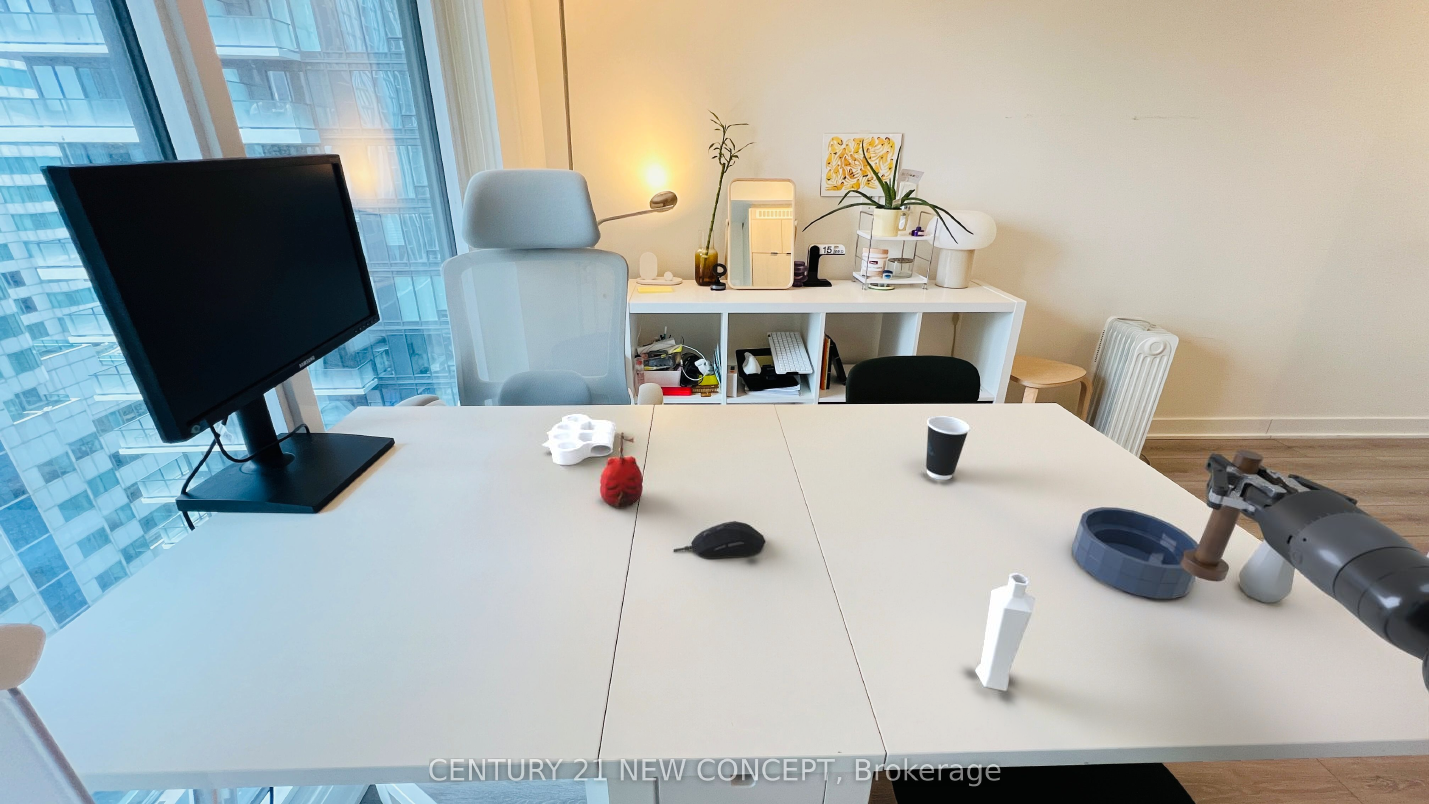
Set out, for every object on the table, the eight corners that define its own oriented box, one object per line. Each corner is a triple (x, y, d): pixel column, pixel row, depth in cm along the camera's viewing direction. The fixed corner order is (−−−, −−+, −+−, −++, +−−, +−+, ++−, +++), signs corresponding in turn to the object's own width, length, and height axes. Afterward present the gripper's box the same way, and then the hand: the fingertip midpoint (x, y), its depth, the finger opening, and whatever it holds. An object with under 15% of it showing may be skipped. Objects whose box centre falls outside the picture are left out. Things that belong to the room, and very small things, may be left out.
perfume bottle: (993, 698, 70) (1021, 597, 64) (966, 670, 74) (990, 572, 68) (1022, 687, 72) (1052, 587, 66) (994, 660, 75) (1020, 563, 70)
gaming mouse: (671, 539, 98) (671, 519, 96) (759, 532, 100) (760, 512, 98) (675, 564, 92) (675, 542, 90) (768, 555, 94) (770, 534, 93)
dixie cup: (968, 476, 119) (979, 426, 114) (944, 487, 114) (954, 436, 110) (934, 460, 125) (943, 412, 120) (910, 470, 120) (918, 421, 116)
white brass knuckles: (611, 464, 121) (537, 466, 119) (617, 426, 137) (552, 427, 136) (610, 449, 119) (535, 451, 118) (616, 413, 136) (551, 414, 135)
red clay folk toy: (640, 488, 112) (637, 416, 106) (646, 508, 106) (643, 432, 100) (599, 493, 110) (594, 419, 104) (602, 514, 104) (597, 437, 98)
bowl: (1190, 562, 95) (1203, 530, 92) (1188, 617, 83) (1203, 583, 81) (1079, 526, 103) (1088, 496, 101) (1063, 572, 92) (1073, 539, 89)
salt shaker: (1295, 607, 85) (1334, 532, 80) (1256, 607, 85) (1292, 531, 80) (1261, 580, 91) (1294, 508, 86) (1223, 580, 91) (1255, 507, 86)
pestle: (1224, 568, 74) (1274, 453, 67) (1225, 586, 70) (1277, 467, 64) (1180, 554, 76) (1224, 441, 70) (1179, 571, 73) (1225, 455, 67)
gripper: (1449, 523, 52) (1304, 438, 68) (1271, 506, 55) (1171, 427, 70) (1409, 591, 55) (1279, 495, 71) (1242, 572, 57) (1151, 483, 73)
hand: (1225, 461), depth 71 cm, fingers closed on pestle, 2 cm apart
